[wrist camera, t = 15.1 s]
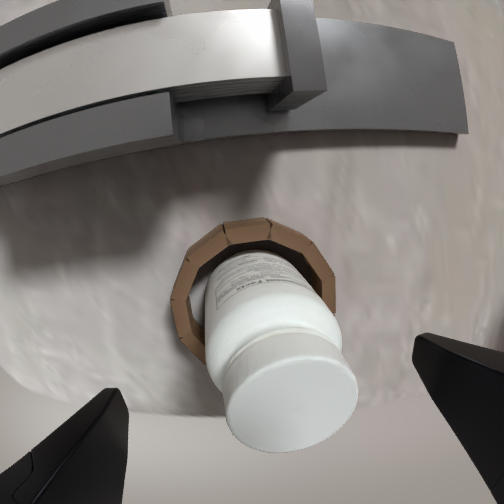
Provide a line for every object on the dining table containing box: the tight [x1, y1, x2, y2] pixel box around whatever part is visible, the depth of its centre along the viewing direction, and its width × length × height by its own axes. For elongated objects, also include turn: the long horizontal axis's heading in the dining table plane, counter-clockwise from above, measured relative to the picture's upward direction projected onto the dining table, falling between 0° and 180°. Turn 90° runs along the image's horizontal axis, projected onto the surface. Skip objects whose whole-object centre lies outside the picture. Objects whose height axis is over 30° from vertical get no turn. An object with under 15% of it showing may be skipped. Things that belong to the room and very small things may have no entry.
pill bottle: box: [205, 249, 358, 453], centre depth 11 cm, size 4×4×8 cm
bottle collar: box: [170, 218, 336, 365], centre depth 14 cm, size 7×7×2 cm
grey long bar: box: [0, 0, 327, 138], centre depth 9 cm, size 15×4×4 cm, turn 96°
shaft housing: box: [0, 0, 468, 186], centre depth 10 cm, size 24×5×5 cm, turn 96°
